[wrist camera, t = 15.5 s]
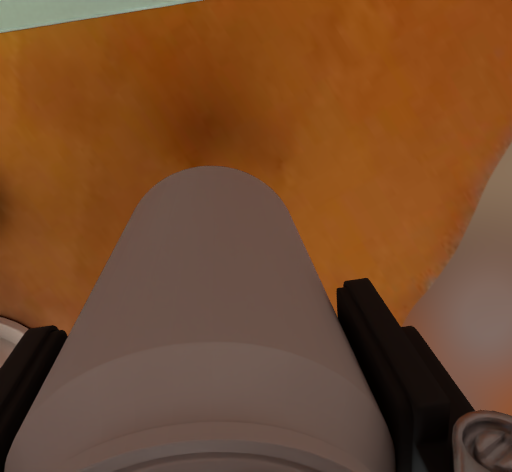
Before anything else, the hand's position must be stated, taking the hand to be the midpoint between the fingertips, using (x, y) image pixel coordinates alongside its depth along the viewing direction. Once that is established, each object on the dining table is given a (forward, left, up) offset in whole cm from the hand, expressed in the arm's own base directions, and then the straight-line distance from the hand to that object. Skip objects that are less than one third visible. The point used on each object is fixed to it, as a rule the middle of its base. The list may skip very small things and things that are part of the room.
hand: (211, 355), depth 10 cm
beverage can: (0, 0, -7) cm, 7 cm away
